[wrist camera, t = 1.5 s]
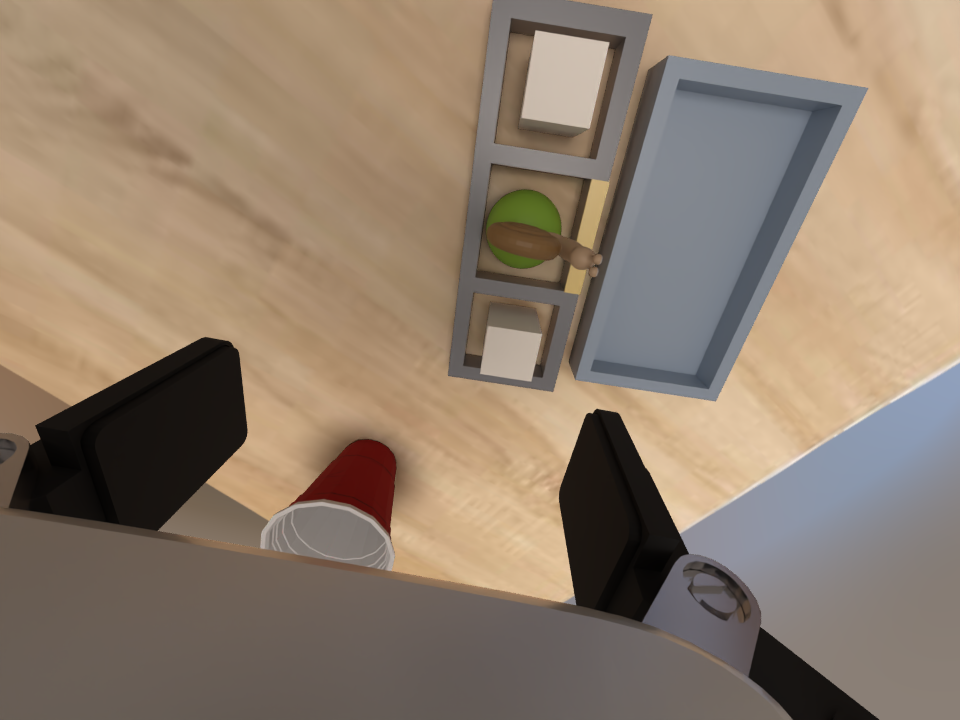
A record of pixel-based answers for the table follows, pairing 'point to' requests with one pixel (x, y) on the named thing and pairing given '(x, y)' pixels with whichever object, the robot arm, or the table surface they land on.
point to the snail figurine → (533, 233)
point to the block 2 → (562, 84)
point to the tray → (704, 220)
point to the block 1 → (511, 342)
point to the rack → (544, 169)
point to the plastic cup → (342, 511)
